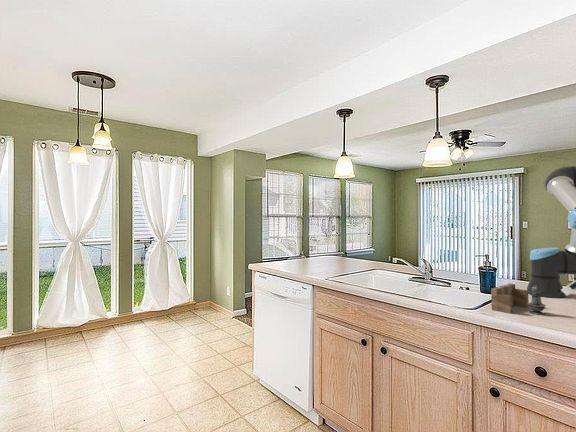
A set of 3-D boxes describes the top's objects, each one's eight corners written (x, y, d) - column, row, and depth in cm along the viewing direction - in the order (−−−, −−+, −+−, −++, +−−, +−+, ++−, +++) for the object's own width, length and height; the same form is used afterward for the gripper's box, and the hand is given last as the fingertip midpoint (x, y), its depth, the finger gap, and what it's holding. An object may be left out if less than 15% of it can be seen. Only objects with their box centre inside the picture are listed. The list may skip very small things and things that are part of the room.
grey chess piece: (537, 310, 134) (537, 282, 135) (549, 315, 129) (548, 285, 129) (524, 311, 134) (523, 282, 134) (535, 315, 128) (534, 285, 129)
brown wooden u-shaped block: (510, 303, 147) (510, 283, 147) (528, 306, 141) (528, 285, 141) (491, 309, 137) (491, 288, 137) (510, 313, 131) (509, 291, 132)
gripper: (631, 262, 104) (567, 303, 118) (640, 259, 111) (579, 298, 125) (608, 245, 109) (549, 286, 122) (618, 243, 116) (561, 282, 129)
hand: (564, 292), depth 124 cm, fingers closed
